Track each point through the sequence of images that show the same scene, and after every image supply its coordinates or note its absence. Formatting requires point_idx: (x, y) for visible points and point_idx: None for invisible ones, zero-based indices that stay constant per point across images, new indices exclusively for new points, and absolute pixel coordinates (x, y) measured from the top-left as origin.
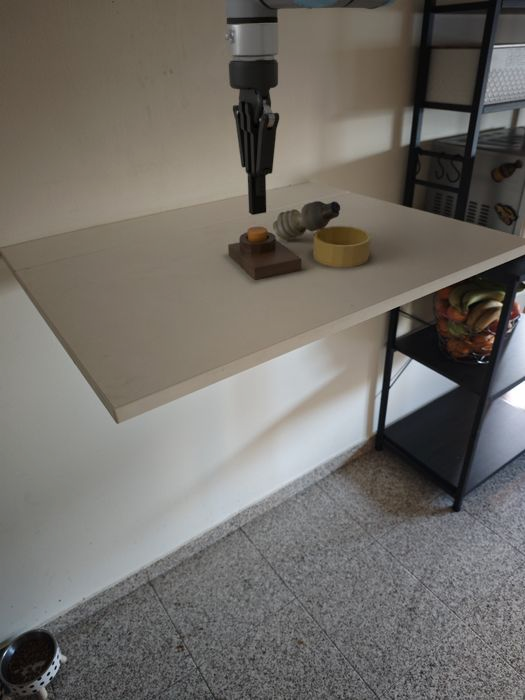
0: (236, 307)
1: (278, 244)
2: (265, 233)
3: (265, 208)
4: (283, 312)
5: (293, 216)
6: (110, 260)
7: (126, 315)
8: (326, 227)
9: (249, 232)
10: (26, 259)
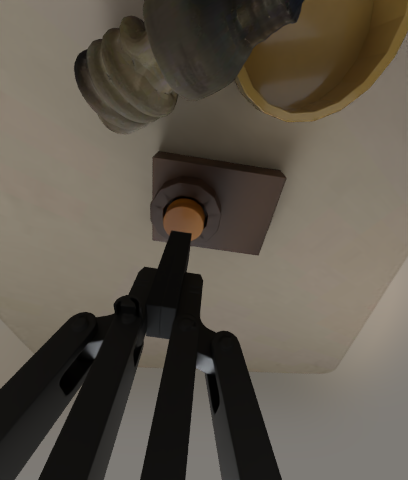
0: (295, 289)
1: (201, 172)
2: (202, 217)
3: (190, 240)
4: (349, 262)
5: (150, 100)
6: None
7: None
8: None
9: None
10: None
